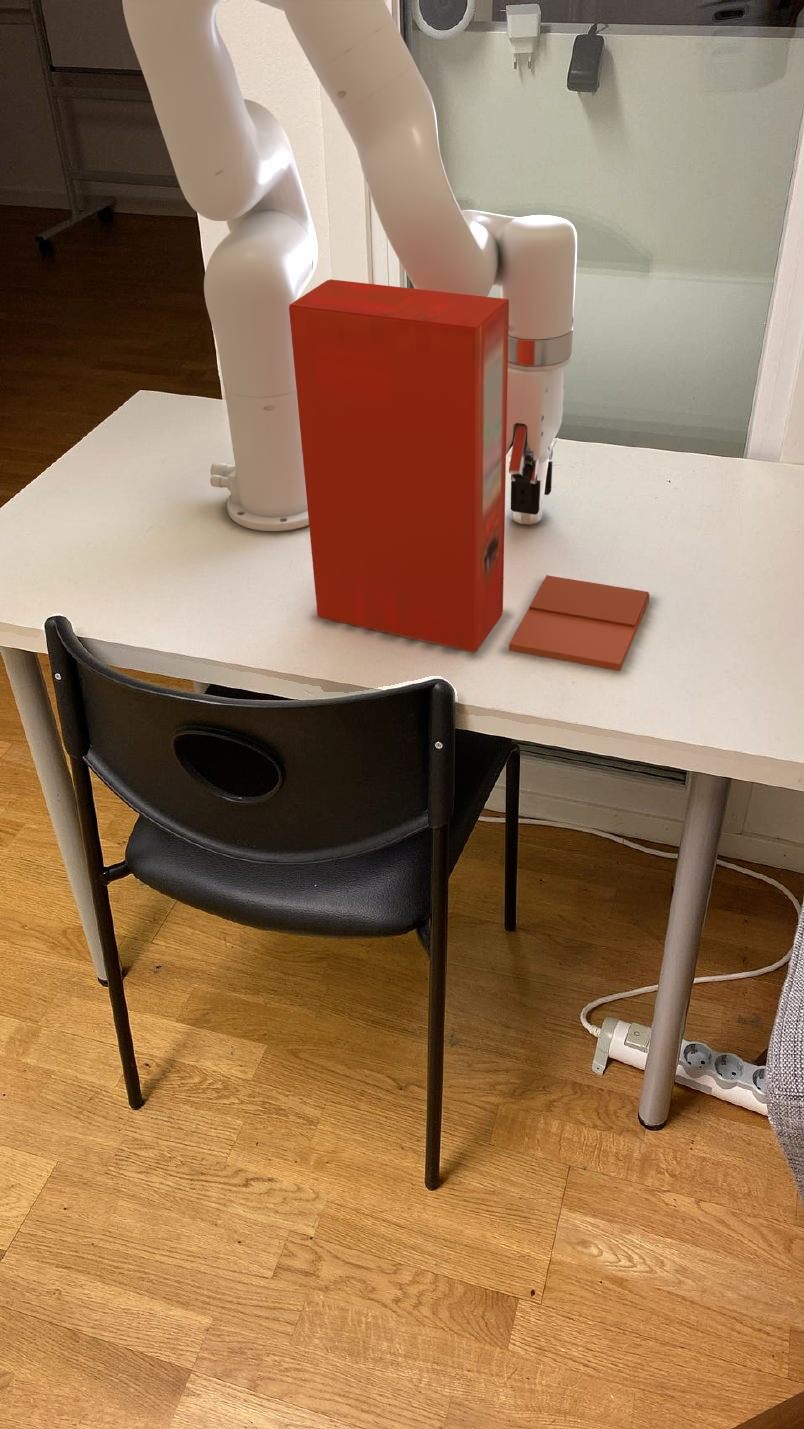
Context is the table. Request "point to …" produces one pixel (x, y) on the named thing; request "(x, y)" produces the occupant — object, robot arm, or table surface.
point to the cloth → (581, 622)
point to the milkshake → (542, 473)
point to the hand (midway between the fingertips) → (531, 500)
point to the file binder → (404, 456)
